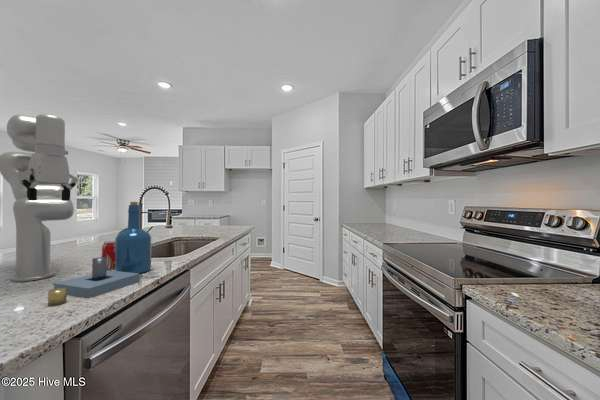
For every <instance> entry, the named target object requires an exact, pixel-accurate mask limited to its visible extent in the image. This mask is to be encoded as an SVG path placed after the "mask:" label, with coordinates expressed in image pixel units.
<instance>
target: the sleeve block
mask: <svg viewBox="0 0 600 400" xmlns="http://www.w3.org/2000/svg"><path fill="white" fill-rule="evenodd" d="M140 276H141V273H140V274H139V273H130V272H121V271H115V270H106V279H104V280H100V281H92V273H91V274H88V275H83V276H80V277H79V276H78V277H75V278H71V279H66V280H63V281H59V282H55V283H54V284H53V289H58V288H66V289H67V292H66V296H73V297H80V298H85V299H90V298H93V297H97V296H99V295H103V294H106V293H109V292H112V291H115V290H117V289H121V288H124V287H127V286H131V285H133V284H136V283H139V282H140V281H141V280H140V278H141V277H140Z"/></svg>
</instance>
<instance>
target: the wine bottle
mask: <svg viewBox="0 0 600 400" xmlns="http://www.w3.org/2000/svg"><path fill="white" fill-rule="evenodd" d="M140 212H141V211H140V204H138V201H130V204H128V210H127V213H128V215H127V217H128V218H127V227H125V228H123V229H122V230H120V231H119V232H118V234H117V235H116V236H115V239H114V241H115V269H114V271H121V272H130V273H139V274H140V275H141V274H145V273H147V272H148V271H151V270H150V269H151V268H152V236H151V235H152V234H150V232H149V231H147V230H146V229H145V230H144V229H143V228H141V225H140V224H141V223H140V221H141V219H140ZM146 271H147V272H146Z"/></svg>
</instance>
